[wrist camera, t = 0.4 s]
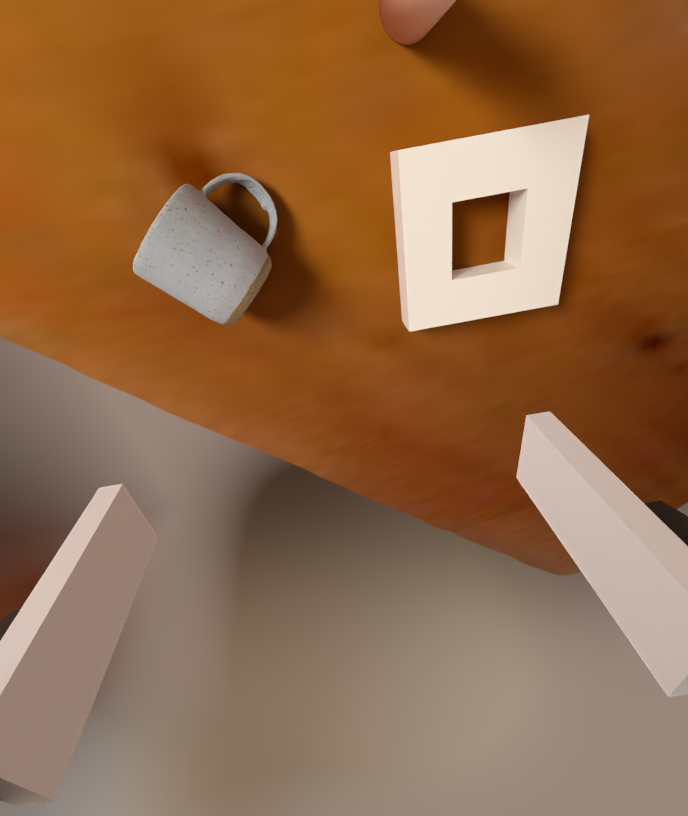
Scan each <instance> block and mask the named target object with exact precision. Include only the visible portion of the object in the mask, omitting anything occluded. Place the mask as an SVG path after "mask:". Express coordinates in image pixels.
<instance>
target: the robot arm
mask: <svg viewBox="0 0 688 816" xmlns="http://www.w3.org/2000/svg"><path fill="white" fill-rule="evenodd" d="M516 478H517V479H518V481H519V482H520V483H521V485H522V486H523V488H524V489H525V491H526V492H527V494H528V495H529V496H530V498H531V499H532V501H533V502H534V504H535V505H536V507H537V508H538V509H539V511H540V512H541V514H542V515H543V517H544V518H545V520H546V521H547V523H548V524H549V525H550V527H551V528H552V530H553V531H554V533H555V534H556V536H557V537H558V538H559V540H560V541H561V543H562V544H563V546H564V547H565V549H566V550H567V551H568V553H569V554H570V556H571V557H572V559H573V560H574V562H575V563H576V564H577V566H578V567H579V569H580V570H581V572H582V573H583V575H584V576H585V577H586V579H587V580H588V582H589V583H590V585H591V586H592V588H593V589H594V590H595V592H596V593H597V595H598V596H599V598H600V599H601V601H602V602H603V603H604V605H605V606H606V608H607V609H608V611H609V612H610V613H611V615H612V616H613V618H614V619H615V621H616V622H617V624H618V625H619V627H620V628H621V629H622V631H623V632H624V634H625V635H626V637H627V638H628V640H629V641H630V642H631V644H632V645H633V647H634V648H635V650H636V651H637V653H638V654H639V655H640V657H641V658H642V660H643V661H644V663H645V664H646V666H647V667H648V668H649V670H650V671H651V673H652V674H653V676H654V677H655V679H656V680H657V681H658V683H659V684H660V685H661V687H662V689H663V690H664V692H665V693H666V694H667V696H668V697H672V696H679V695H685V694H688V517H687V516H686V515H685V514H683V513H681V512H679V511H678V510H676V509H674V508H672V507H671V506H669V505H667V504H665V503H663V502H662V501H656V502H650V503H643V502H642V501H641V500H640V499H639V498H638V497H637V496H636V495H635V494H634V493H633V492H632V491H631V490H630V489H629V488H628V487H627V486H626V485H625V484H624V483H622V482H621V481H620V480H619V479H618V478H617V477H616V476H615V475H614V474H613V473H612V472H611V471H610V470H609V469H608V468H607V467H606V466H605V465H604V464H603V463H602V462H601V461H600V460H599V459H598V458H597V457H596V456H595V455H594V454H593V453H592V452H591V451H590V450H589V449H588V448H587V447H586V446H585V445H584V444H583V443H582V442H581V441H580V440H579V439H578V438H577V437H576V436H574V435H573V434H572V433H571V432H570V431H569V430H568V429H567V428H566V427H565V426H564V425H563V424H562V423H561V422H560V421H559V420H558V419H557V418H556V417H555V416H554V415H553V414H552V413H551V412H550V411H549V412H544V413H538V414H532V415H526V421H525V427H524V433H523V439H522V446H521V452H520V458H519V464H518V471H517V477H516ZM157 540H158V537H157V535H156V534H155V532H154V531H153V529H152V527H151V526H150V525H149V523H148V521H147V520H146V518H145V517H144V515H143V514H142V512H141V511H140V509H139V508H138V506H137V505H136V503H135V502H134V500H133V499H132V497H131V496H130V494H129V493H128V491H127V489H126V488H125V487H124V485H123V484H119V485H113V486H107V487H101V488H99V489H98V491H97V492H96V494H95V495H94V497H93V498H92V500H91V501H90V503H89V504H88V506H87V507H86V509H85V511H84V512H83V514H82V515H81V517H80V518H79V520H78V521H77V523H76V524H75V526H74V528H73V529H72V531H71V532H70V534H69V535H68V537H67V538H66V540H65V542H64V543H63V545H62V546H61V548H60V549H59V551H58V552H57V554H56V556H55V557H54V559H53V560H52V562H51V563H50V565H49V567H48V568H47V570H46V571H45V573H44V574H43V576H42V577H41V579H40V580H39V582H38V583H37V585H36V586H35V588H34V590H33V591H32V593H31V594H30V596H29V597H28V599H27V600H26V602H25V604H24V605H23V607H22V608H21V610H18V611H12V612H10V613H9V614H8V616H6V618H4V619H3V621H2V622H0V800H1V801H4V802H7V803H9V804H12V805H15V806H18V807H21V806H27V805H33V804H39V803H45V802H51V801H55V798H56V796H57V793H58V791H59V788H60V786H61V783H62V780H63V778H64V775H65V773H66V770H67V768H68V765H69V763H70V760H71V758H72V755H73V753H74V750H75V748H76V745H77V743H78V740H79V737H80V735H81V732H82V730H83V727H84V725H85V722H86V720H87V717H88V715H89V712H90V710H91V707H92V705H93V702H94V700H95V697H96V694H97V692H98V689H99V687H100V685H101V682H102V679H103V677H104V674H105V672H106V669H107V667H108V664H109V662H110V659H111V657H112V654H113V652H114V649H115V647H116V644H117V642H118V639H119V636H120V634H121V631H122V629H123V626H124V624H125V621H126V619H127V616H128V613H129V611H130V609H131V606H132V604H133V601H134V599H135V596H136V594H137V591H138V588H139V586H140V584H141V581H142V578H143V576H144V573H145V571H146V568H147V566H148V563H149V561H150V558H151V556H152V553H153V551H154V548H155V546H156V543H157Z"/></svg>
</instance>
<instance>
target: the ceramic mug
mask: <svg viewBox="0 0 688 816" xmlns="http://www.w3.org/2000/svg"><path fill="white" fill-rule="evenodd" d="M227 183H239V184H240V185H242V186H244V187H246V188H247V190H248V191H249V192H250V193H251V194H252V195H253V196H254V197H255V198H256V199H257V200H258V201H259V203H260V204H261V206H262V209H264V210H266V211H268V214H269V222H270V228H269V231H268V235H267V237H266V239H265V242H264V243H263V244H262V245H260V244H259V243H258V242H257V241H255V240H254V239H253V238H252V237H251V236H250V235H248V234H247V233H246V232H245V231H243V230H242V229H241V228H239V227H238V226H237V225H236V224H235V223H234V222H233V221H232V220H231V219H230V218H229V217H227V216H226V215H225V214H224V213H223V212H222V211H220V210H219V209H218V208H217V207H216V206H215V205H214V204H213V203H212V202H210V201H209V200H208V199H207V198H206V197H207V196H208V195H209V194H210V193H211V192H212V191H213V190H214V189H216V188H217V187H219V186H221V185H223V184H227ZM276 227H277V213H276V208H275V205H274V202H273V200H272V198H271V197H270V195H269V194H268V192H267V191H266V190H265V189H264V188H263V187H262V185H261V184H260V183H259V182H257V181H256V180H254V179H253V178H252V177H250V176H248V175H245V174H242V173H228V174H222V175H220V176H218V177H216V178H215V179H213V180H211V181H210V182H209V183H208V184H207V185H205V186H204V187H203V189H202V190H201V191H199V190H196V189H195V188H194V187H193V186H191V185H190V184H184V185H183V186H181V187H180V188H179V189H178V190H177V191H176V192H175V193H174V194H173V195H172V197H171V198H170V199H169V200H168V202H167V203H166V204H165V205H164V207H163V209H162V210H161V211H160V213H159V214H158V216H157V217H156V219H155V220H154V222H153V223H152V225H151V227H150V229H149V230H148V232H147V234H146V236H145V238H144V240H143V241H142V244H141V246H140V248H139V250H138V252H137V254H136V256H135V258H134V262H133V271H134V273H135V274H136V275H138V276H139V277H141V278H143V279H144V280H146V281H148V282H150V283H151V284H153V285H155V286H157V287H158V288H160V289H161V290H163V291H165V292H166V293H168V294H169V295H171V296H173V297H174V298H176V299H178V300H179V301H181V302H183V303H185V304H186V305H188V306H190V307H191V308H193V309H195V310H196V311H198V312H199V313H201V314H203V315H204V316H206V317H207V318H209V319H211V320H213V321H216V322H218V323H220V324H223V325H232V324H234V323H236V322H237V321H238V320H239V318H240V317H241V316H242V315H243V313H244V312H245V311H246V309H247V308H248V307H249V305H250V304H251V302H252V301H253V299H254V298H255V296H256V295H257V293H258V291H259V290H260V288H261V287H262V285H263V283H264V282H265V280H266V278H267V276H268V274H269V272H270V270H271V266H272V263H271V258H270V256H269V255H268V254H267V247H268V246H269V245H270V243H271V241H272V240H273V237H274V235H275V232H276Z"/></svg>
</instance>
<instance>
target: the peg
mask: <svg viewBox="0 0 688 816" xmlns="http://www.w3.org/2000/svg"><path fill="white" fill-rule="evenodd" d="M455 1H456V0H380V4H379V5H380V16H381V21H382V24H383V26H384V29H385V31H386V32H387V34H388V35H389V36H390V38H392V39H393V40H394V41H395V42H397V43H399V44H402V45H411V44H414V43H417V42H418V41H420V40H421V39H422V38H424V37H425V35H426V34H427V33H428V32H429V31H430V30H431V29H432V27H433V26H434V25H435V24H436V23H437V22H438V21H439V19H440V18H441V17H442V16H443V15H444V14H445V13H446V11H447V10H448V9H449V8H450V7H451V6H452V5H453V3H454V2H455Z"/></svg>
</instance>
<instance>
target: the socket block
mask: <svg viewBox="0 0 688 816" xmlns="http://www.w3.org/2000/svg"><path fill="white" fill-rule="evenodd" d="M588 119H589V115H584V116H579V117H573V118H568V119H563V120H557V121H552V122H547V123H541V124H536V125H531V126H525V127H520V128H515V129H509V130H504V131H499V132H493V133H488V134H483V135H477V136H472V137H466V138H461V139H456V140H450V141H445V142H440V143H434V144H429V145H424V146H418V147H413V148H408V149H402V150H397V151H393V152H390V160H391V174H392V188H393V201H394V215H395V229H396V243H397V257H398V271H399V285H400V298H401V312H402V321H403V323H404V324H405V326H406V327H407V329H408V331H409V332H410V331H416V330H421V329H427V328H432V327H438V326H443V325H449V324H454V323H460V322H465V321H471V320H476V319H481V318H487V317H492V316H498V315H503V314H509V313H514V312H520V311H525V310H531V309H536V308H542V307H547V306H553V305H558V302H559V296H560V290H561V284H562V278H563V272H564V266H565V259H566V253H567V247H568V241H569V235H570V229H571V223H572V217H573V211H574V205H575V199H576V193H577V186H578V180H579V174H580V168H581V162H582V156H583V150H584V144H585V138H586V132H587V126H588ZM506 192H510V194H509V207H508V220H507V232H506V245H505V258H504V261H501V262H496V263H490V264H485V265H479V266H474V267H468V268H463V269H458V270H452V202H458V201H463V200H468V199H474V198H479V197H485V196H490V195H495V194H501V193H506Z"/></svg>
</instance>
